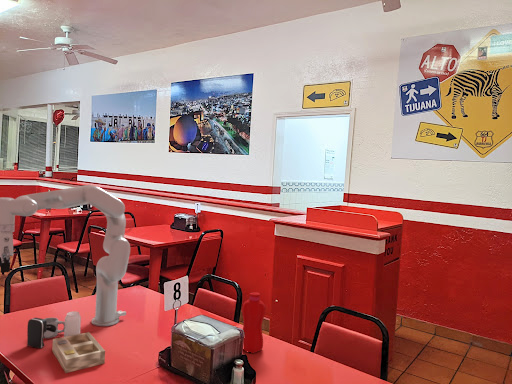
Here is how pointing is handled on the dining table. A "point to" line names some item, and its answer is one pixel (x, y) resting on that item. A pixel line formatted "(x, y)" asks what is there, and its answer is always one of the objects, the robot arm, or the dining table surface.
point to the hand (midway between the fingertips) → (2, 269)
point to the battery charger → (36, 332)
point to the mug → (53, 327)
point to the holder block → (78, 352)
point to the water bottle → (253, 323)
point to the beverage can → (72, 324)
